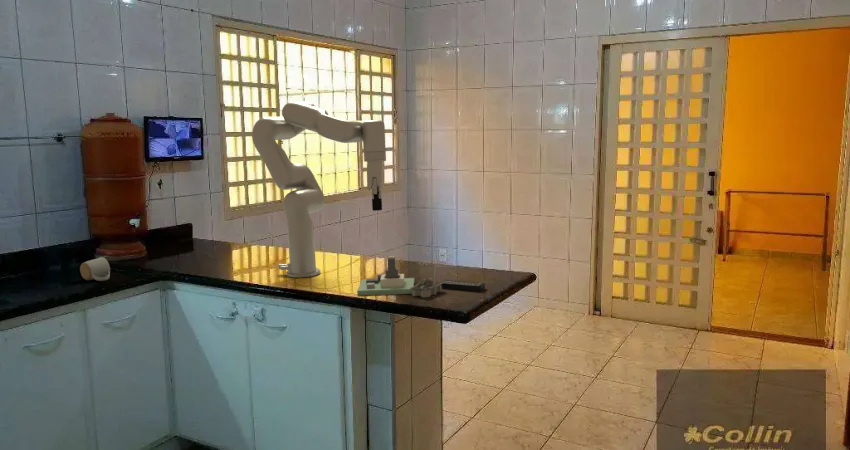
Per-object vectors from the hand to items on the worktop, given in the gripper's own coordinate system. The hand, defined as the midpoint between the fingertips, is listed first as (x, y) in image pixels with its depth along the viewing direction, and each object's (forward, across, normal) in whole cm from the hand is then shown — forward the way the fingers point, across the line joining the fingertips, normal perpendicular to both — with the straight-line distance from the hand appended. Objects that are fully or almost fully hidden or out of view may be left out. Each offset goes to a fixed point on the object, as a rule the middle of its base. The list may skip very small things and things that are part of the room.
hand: (377, 210), depth 215 cm
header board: (+25, +11, +3) cm, 28 cm away
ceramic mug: (+25, -17, -109) cm, 113 cm away
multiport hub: (+26, +14, +28) cm, 41 cm away
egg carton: (+26, +18, +17) cm, 35 cm away
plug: (+24, +11, +5) cm, 27 cm away
